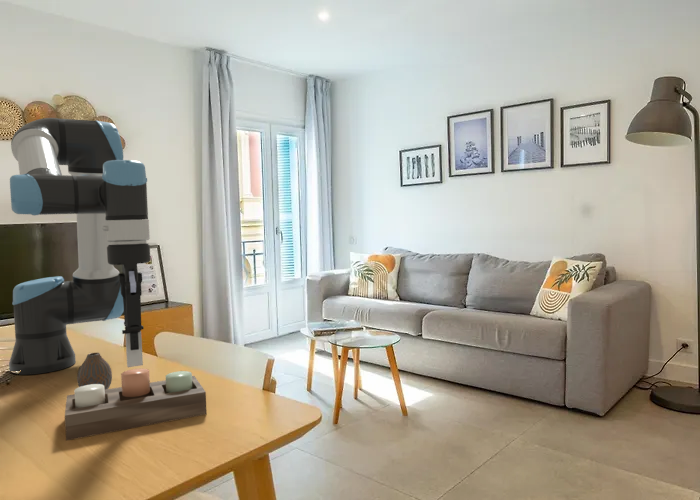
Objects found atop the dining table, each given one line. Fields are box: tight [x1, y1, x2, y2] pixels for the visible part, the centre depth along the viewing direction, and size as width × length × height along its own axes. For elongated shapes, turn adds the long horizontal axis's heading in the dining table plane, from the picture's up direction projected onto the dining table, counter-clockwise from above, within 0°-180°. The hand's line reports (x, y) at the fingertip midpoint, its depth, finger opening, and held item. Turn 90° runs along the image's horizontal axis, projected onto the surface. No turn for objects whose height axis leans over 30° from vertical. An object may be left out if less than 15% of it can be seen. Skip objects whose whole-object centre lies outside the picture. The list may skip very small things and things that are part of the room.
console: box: [64, 375, 208, 441], centre depth 101 cm, size 12×24×4 cm, turn 117°
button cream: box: [73, 384, 105, 408], centre depth 98 cm, size 5×5×4 cm
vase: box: [76, 352, 113, 390], centre depth 116 cm, size 7×7×9 cm
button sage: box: [165, 370, 193, 393], centre depth 105 cm, size 5×5×4 cm
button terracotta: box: [120, 368, 151, 397], centre depth 101 cm, size 5×5×4 cm
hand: (135, 365), depth 101 cm, fingers closed
